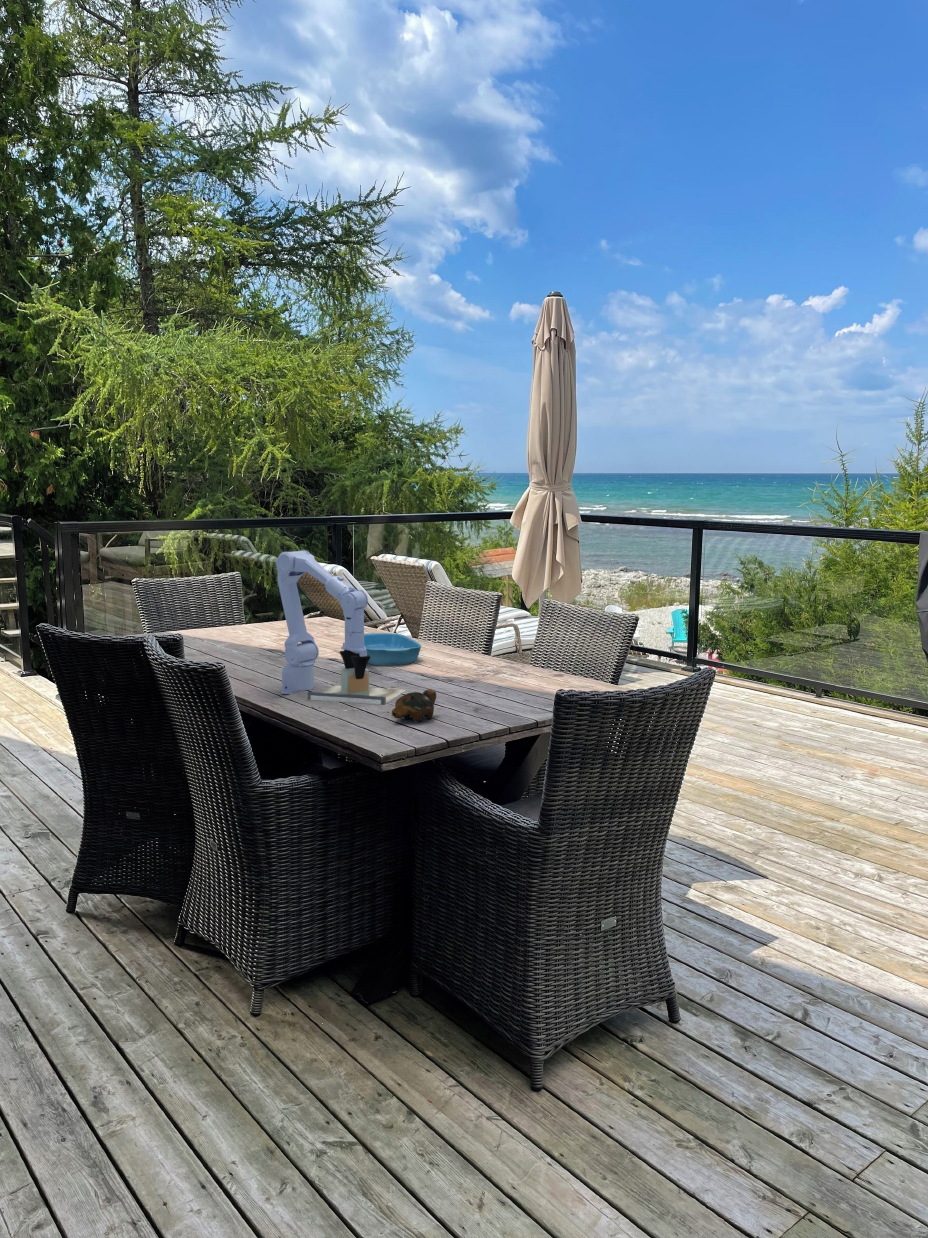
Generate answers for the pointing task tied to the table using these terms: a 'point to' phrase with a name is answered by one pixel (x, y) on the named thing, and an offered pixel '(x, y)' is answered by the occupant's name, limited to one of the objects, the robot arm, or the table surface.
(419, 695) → the decorative turtle
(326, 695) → the rail
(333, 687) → the shelf board
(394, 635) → the casserole dish
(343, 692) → the carton
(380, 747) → the table surface
